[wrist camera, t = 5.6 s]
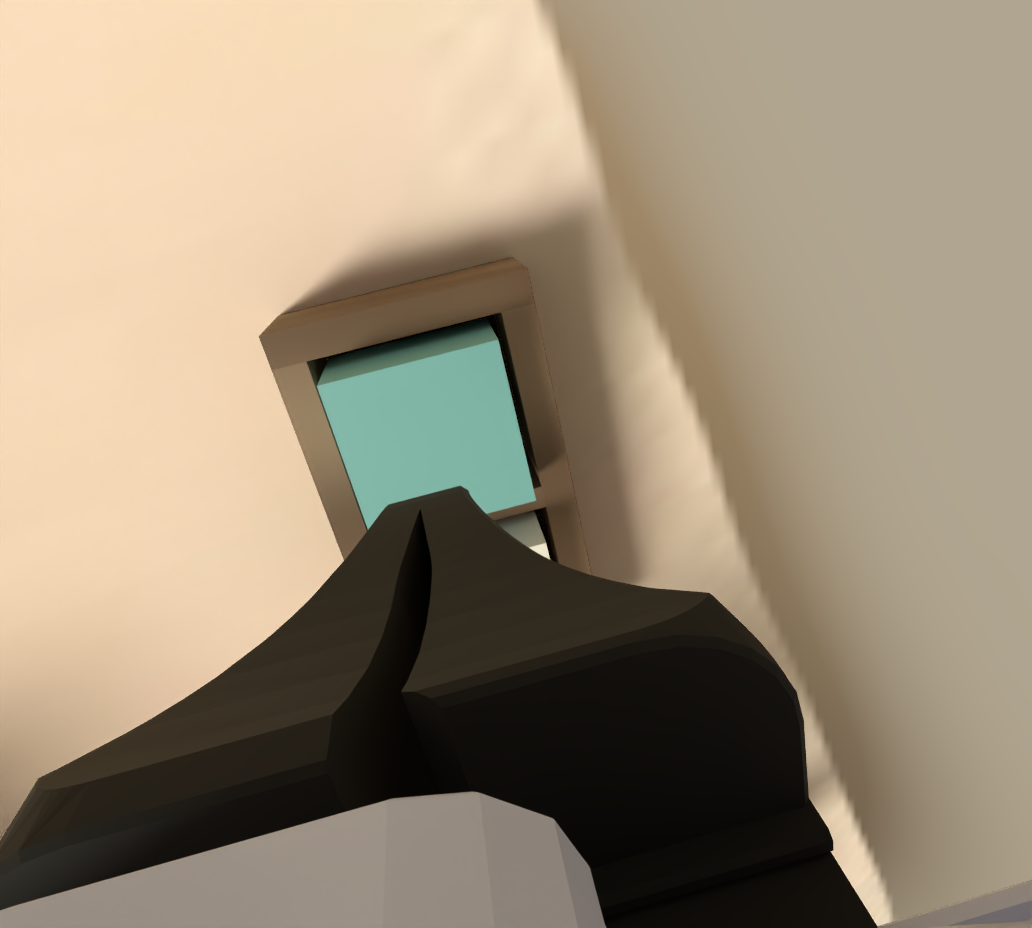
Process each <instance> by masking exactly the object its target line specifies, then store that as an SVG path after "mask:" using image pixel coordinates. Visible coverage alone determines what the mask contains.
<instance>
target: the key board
mask: <svg viewBox="0 0 1032 928" xmlns="http://www.w3.org/2000/svg"><path fill="white" fill-rule="evenodd" d="M492 314H494V315H495V320H496V324H497V328H498V332H499V337H500V341H501V345H502V349H503V354H504V358H505V362H506V366H507V371H508V375H509V379H510V384H511V388H512V392H513V396H514V401H515V405H516V409H517V413H518V418H519V422H520V426H521V430H522V435H523V439H524V443H525V447H526V452H525V455H526V460H527V464H528V468H529V472H530V477H531V481H532V485H533V489H534V494H535V498H536V501H533V502H529V503H525V504H522V505H518V506H514V507H510V508H507V509H503V510H499V511H495V512H492V513H488V514H487V515H488V516H489V517H490V518H491V519H492V520H493V521H495V520H498V519H502V518H506V517H510V516H513V515H517V514H521V513H525V512H528V511H532V510H536V509H540V511H541V516H542V520H543V524H544V529H545V533H546V537H547V541H548V546H549V550H550V554H551V558H552V561H554V562H556V563H559V564H561V565H564V566H566V567H569V568H572V569H575V570H577V571H580V572H583V573H586V574H589V575H591V570H590V566H589V561H588V556H587V551H586V546H585V542H584V537H583V532H582V527H581V522H580V518H579V513H578V508H577V503H576V498H575V494H574V489H573V484H572V479H571V475H570V470H569V465H568V460H567V455H566V451H565V446H564V441H563V436H562V431H561V427H560V422H559V417H558V412H557V408H556V403H555V398H554V393H553V388H552V384H551V379H550V374H549V369H548V364H547V360H546V355H545V350H544V345H543V341H542V336H541V331H540V326H539V321H538V317H537V312H536V307H535V302H534V297H533V293H532V288H531V283H530V278H529V274H528V269H527V268H526V267H524V266H523V265H522V264H520V263H519V262H518V261H517V260H515V259H514V258H513V257H512V258H508V259H504V260H500V261H496V262H492V263H488V264H484V265H480V266H476V267H472V268H468V269H464V270H460V271H456V272H452V273H448V274H444V275H440V276H436V277H432V278H428V279H424V280H420V281H416V282H412V283H408V284H404V285H400V286H396V287H392V288H388V289H384V290H380V291H376V292H372V293H368V294H364V295H360V296H356V297H352V298H348V299H344V300H340V301H336V302H332V303H328V304H324V305H320V306H316V307H312V308H308V309H304V310H300V311H296V312H292V313H288V314H284V315H280V316H278V317H277V318H276V319H275V320H274V321H273V322H272V323H271V324H270V325H269V326H268V327H267V328H266V330H265V331H264V332H263V333H262V334H261V335H260V336H259V338H260V341H261V343H262V346H263V349H264V351H265V354H266V356H267V359H268V362H269V364H270V367H271V370H272V372H273V375H274V377H275V380H276V383H277V385H278V388H279V391H280V393H281V396H282V398H283V401H284V404H285V406H286V409H287V412H288V414H289V417H290V419H291V422H292V425H293V427H294V430H295V433H296V435H297V438H298V441H299V443H300V446H301V448H302V451H303V454H304V456H305V459H306V462H307V464H308V467H309V469H310V472H311V475H312V477H313V480H314V483H315V485H316V488H317V490H318V493H319V496H320V498H321V501H322V504H323V506H324V509H325V511H326V514H327V517H328V519H329V522H330V525H331V527H332V530H333V532H334V535H335V538H336V540H337V543H338V546H339V548H340V551H341V553H342V556H343V559H344V560H345V559H346V558H347V557H348V555H349V554H350V553H351V551H352V550H353V549H354V548H355V546H356V545H357V544H358V542H359V541H360V540H361V539H362V537H363V536H364V535H365V533H366V532H367V531H368V529H367V526H366V523H365V520H364V517H363V515H362V512H361V509H360V506H359V503H358V500H357V498H356V495H355V492H354V489H353V486H352V484H351V481H350V478H349V475H348V472H347V470H346V467H345V464H344V461H343V458H342V456H341V453H340V450H339V447H338V444H337V442H336V439H335V436H334V433H333V430H332V427H331V425H330V422H329V419H328V416H327V413H326V411H325V408H324V405H323V402H322V399H321V397H320V394H319V391H318V388H317V384H318V382H319V380H320V378H321V375H322V373H323V371H324V368H325V366H326V364H327V359H326V357H327V356H331V355H335V354H338V353H342V352H346V351H350V350H354V349H358V348H362V347H366V346H370V345H374V344H378V343H382V342H386V341H390V340H394V339H398V338H402V337H405V336H409V335H413V334H417V333H421V332H425V331H429V330H433V329H437V328H441V327H445V326H449V325H453V324H457V323H461V322H465V321H469V320H473V319H476V318H480V317H484V316H488V315H492Z"/></svg>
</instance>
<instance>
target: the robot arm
mask: <svg viewBox="0 0 1032 928" xmlns="http://www.w3.org/2000/svg"><path fill="white" fill-rule="evenodd" d="M830 851H833V839H832V837H831V834H830V831H829V829H828V827H827V826H826V824H825V823H824V821H823V819H822V818H821V816H820V815H819V813H818V812H817V810H816V809H815V807H814V806H813V804H812V802H811V801H810V799H809V796H808V780H807V765H806V749H805V734H804V720H803V716H802V712H801V708H800V704H799V700H798V696H797V692H796V690H795V689H794V688H793V686H792V685H791V683H790V682H789V680H788V679H787V677H786V675H785V674H784V672H783V671H782V670H781V668H780V667H779V665H778V664H777V662H776V661H775V659H774V658H773V657H772V656H771V655H770V653H769V652H768V651H767V650H766V649H765V647H764V646H763V645H762V644H761V643H760V642H759V640H758V639H757V638H756V637H755V636H754V635H753V634H752V633H751V632H750V631H749V630H748V629H747V628H746V627H745V626H744V625H743V624H742V623H741V622H740V621H739V620H738V619H737V618H736V617H735V616H733V615H732V614H731V613H730V612H729V611H728V610H727V609H726V608H725V607H724V606H723V605H722V604H721V603H720V602H719V601H718V600H717V599H716V598H715V597H714V596H712V595H711V594H710V593H703V592H691V591H679V590H667V589H655V588H647V587H641V586H636V585H630V584H625V583H620V582H615V581H611V580H607V579H603V578H599V577H595V576H592V575H589V574H586V573H583V572H580V571H577V570H575V569H572V568H569V567H566V566H564V565H561V564H559V563H556V562H554V561H552V560H550V559H548V558H546V557H544V556H542V555H540V554H538V553H537V552H535V551H533V550H532V549H530V548H529V547H527V546H526V545H524V544H523V543H521V542H520V541H518V540H517V539H516V538H514V537H513V536H511V535H510V534H509V533H508V532H506V531H505V530H504V529H503V528H501V527H500V526H499V525H498V524H497V523H496V522H495V521H493V520H492V519H491V518H490V517H489V516H488V515H487V514H486V513H485V512H484V511H483V510H482V509H481V508H480V507H479V506H478V505H477V503H476V502H475V501H474V500H473V498H472V497H471V495H470V493H469V490H467V489H466V488H464V487H462V486H457V487H453V488H449V489H445V490H441V491H438V492H434V493H430V494H426V495H423V496H419V497H415V498H411V499H407V500H404V501H400V502H396V503H392V504H389V505H387V506H386V507H385V508H384V510H383V511H382V512H381V513H380V515H379V516H378V517H377V519H376V520H375V521H374V523H373V524H372V525H371V527H370V528H369V529H368V531H367V532H366V533H365V535H364V536H363V537H362V539H361V540H360V541H359V542H358V544H357V545H356V546H355V548H354V549H353V550H352V551H351V553H350V554H349V555H348V557H347V558H346V559H345V560H344V562H343V563H342V564H341V565H340V566H339V567H338V568H337V569H336V571H335V572H334V573H333V574H332V575H331V576H330V577H329V579H328V580H327V581H326V582H325V583H324V584H323V585H322V587H321V588H320V589H319V590H318V591H317V592H316V593H315V594H314V595H313V597H312V598H311V599H310V600H309V601H308V602H307V603H306V604H305V605H304V606H303V607H302V608H301V609H300V610H298V611H297V612H296V613H295V614H294V615H293V616H292V617H291V618H290V619H289V620H288V621H287V622H285V623H284V624H283V625H282V626H281V627H280V628H279V629H278V630H277V631H275V632H274V633H273V634H272V635H271V636H270V637H268V638H267V639H266V640H265V641H264V642H262V643H261V644H260V645H258V646H257V647H256V648H254V649H253V650H252V651H251V652H249V653H248V654H247V655H245V656H244V657H243V658H241V659H240V660H239V661H237V662H236V663H235V664H233V665H232V666H231V667H229V668H228V669H227V670H225V671H224V672H223V673H221V674H220V675H219V676H218V677H216V678H215V679H213V680H212V681H210V682H209V683H207V684H206V685H204V686H203V687H201V688H200V689H198V690H197V691H195V692H194V693H192V694H191V695H189V696H188V697H186V698H185V699H183V700H181V701H180V702H178V703H177V704H175V705H173V706H172V707H170V708H168V709H167V710H165V711H163V712H162V713H160V714H159V715H157V716H155V717H154V718H152V719H150V720H149V721H147V722H145V723H143V724H142V725H140V726H138V727H136V728H135V729H133V730H131V731H129V732H128V733H126V734H124V735H122V736H120V737H118V738H116V739H114V740H112V741H110V742H109V743H107V744H105V745H103V746H101V747H99V748H97V749H95V750H93V751H91V752H90V753H88V754H86V755H84V756H82V757H80V758H78V759H76V760H74V761H72V762H70V763H69V764H67V765H65V766H63V767H61V768H59V769H57V770H55V771H53V772H51V773H49V774H47V775H45V776H42V777H40V778H39V779H38V780H37V782H36V783H35V785H34V787H33V788H32V790H31V792H30V793H29V795H28V797H27V798H26V800H25V802H24V803H23V805H22V806H21V808H20V810H19V811H18V813H17V815H16V816H15V818H14V819H13V821H12V823H11V824H10V826H9V828H8V829H7V831H6V832H5V834H4V836H3V837H2V839H1V841H0V928H1032V880H1030V881H1026V882H1023V883H1020V884H1016V885H1013V886H1010V887H1006V888H1003V889H1000V890H997V891H993V892H990V893H987V894H983V895H980V896H977V897H973V898H971V899H967V900H964V901H960V902H957V903H953V904H950V905H947V906H944V907H940V908H937V909H934V910H930V911H927V912H924V913H920V914H917V915H914V916H910V917H907V918H904V919H901V920H897V921H894V922H891V923H887V924H884V925H881V926H877V925H876V924H875V922H874V920H873V919H872V917H871V916H870V914H869V912H868V911H867V909H866V908H865V906H864V904H863V903H862V901H861V900H860V898H859V896H858V895H857V893H856V892H855V890H854V888H853V887H852V885H851V884H850V882H849V880H848V879H847V877H846V876H845V874H844V872H843V871H842V869H841V868H840V866H839V864H838V863H837V861H836V860H835V858H834V856H833V855H832V853H831V852H830Z"/></svg>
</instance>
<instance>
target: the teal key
mask: <svg viewBox="0 0 1032 928" xmlns="http://www.w3.org/2000/svg"><path fill="white" fill-rule="evenodd" d="M317 388H318V391H319V394H320V397H321V399H322V402H323V405H324V408H325V411H326V413H327V416H328V419H329V422H330V425H331V427H332V430H333V433H334V436H335V439H336V442H337V444H338V447H339V450H340V453H341V456H342V458H343V461H344V464H345V467H346V470H347V472H348V475H349V478H350V481H351V484H352V486H353V489H354V492H355V495H356V498H357V500H358V503H359V506H360V509H361V512H362V515H363V517H364V520H365V523H366V526H367V529H369V528H370V527H371V525H372V524H373V523H374V521H375V520H376V519H377V517H378V516H379V515H380V513H381V512H382V511H383V510H384V508H385V507H386V506H387V505H389V504H392V503H396V502H400V501H404V500H407V499H411V498H415V497H419V496H423V495H426V494H430V493H434V492H438V491H441V490H445V489H449V488H453V487H457V486H462V487H464V488H466V489H467V490H469V493H470V495H471V497H472V498H473V500H474V501H475V502H476V503H477V505H478V506H479V507H480V508H481V509H482V510H483V511H484V512H485V513H486V514H488V513H492V512H495V511H499V510H503V509H507V508H510V507H514V506H518V505H522V504H525V503H529V502H533V501H536V498H535V494H534V489H533V485H532V481H531V477H530V472H529V468H528V464H527V460H526V455H525V451H524V447H523V443H522V438H521V434H520V430H519V426H518V421H517V417H516V413H515V409H514V404H513V400H512V396H511V392H510V387H509V383H508V379H507V375H506V371H505V366H504V362H503V358H502V354H501V349H500V345H499V341H498V338H497V337H496V335H495V333H494V331H493V329H492V327H491V326H490V324H489V322H488V320H487V318H484V319H481V320H477V321H473V322H469V323H465V324H461V325H457V326H453V327H449V328H445V329H441V330H437V331H433V332H429V333H425V334H421V335H417V336H414V337H410V338H406V339H402V340H398V341H394V342H390V343H386V344H382V345H378V346H374V347H370V348H366V349H362V350H358V351H354V352H351V353H347V354H343V355H339V356H335V357H331V358H329V359H328V362H327V364H326V366H325V368H324V371H323V373H322V375H321V378H320V380H319V382H318V384H317Z"/></svg>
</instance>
